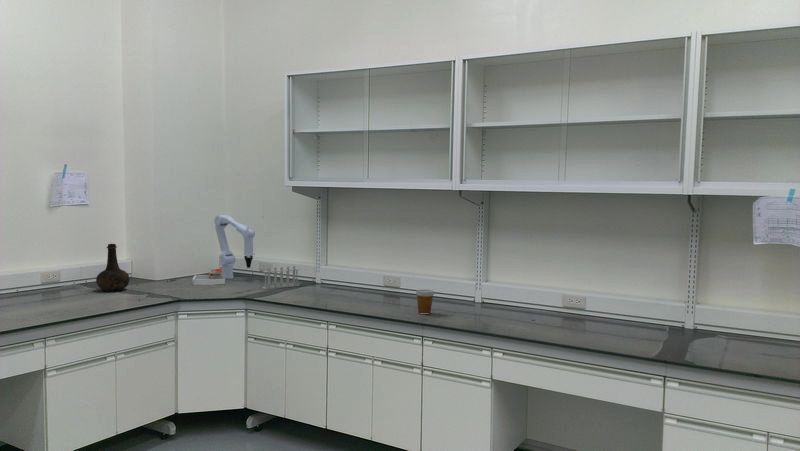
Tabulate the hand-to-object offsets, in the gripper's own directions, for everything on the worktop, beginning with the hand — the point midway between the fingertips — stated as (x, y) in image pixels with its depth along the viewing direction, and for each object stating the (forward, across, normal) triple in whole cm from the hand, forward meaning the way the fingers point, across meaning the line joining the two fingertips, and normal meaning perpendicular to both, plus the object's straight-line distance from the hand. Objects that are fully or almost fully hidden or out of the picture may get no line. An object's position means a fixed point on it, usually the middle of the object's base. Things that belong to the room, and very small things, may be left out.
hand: (248, 266), depth 396 cm
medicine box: (+10, -5, +21) cm, 24 cm away
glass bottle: (+10, -27, +79) cm, 84 cm away
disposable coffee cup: (+10, -117, -89) cm, 147 cm away
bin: (+9, -5, +25) cm, 27 cm away
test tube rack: (+10, -27, -20) cm, 36 cm away
